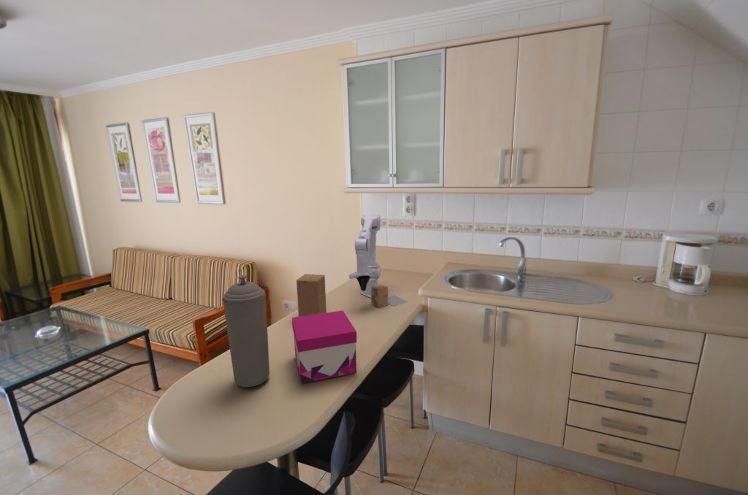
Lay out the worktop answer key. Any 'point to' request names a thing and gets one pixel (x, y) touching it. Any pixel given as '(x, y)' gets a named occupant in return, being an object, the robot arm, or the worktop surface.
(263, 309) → the canister
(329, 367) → the decorative box
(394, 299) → the mat
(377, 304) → the brown teal box
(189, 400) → the worktop surface
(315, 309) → the wooden block
